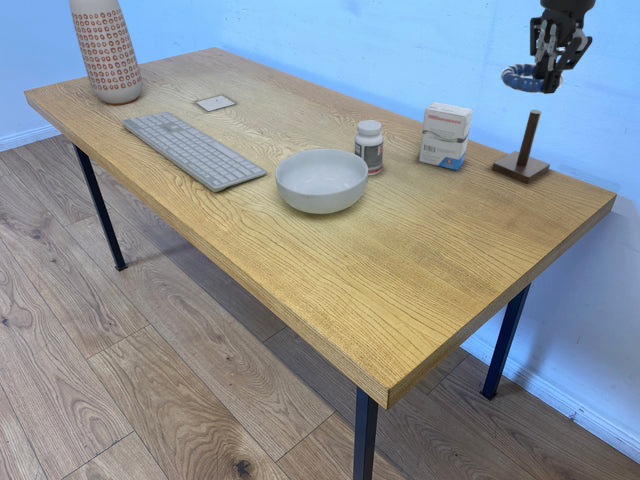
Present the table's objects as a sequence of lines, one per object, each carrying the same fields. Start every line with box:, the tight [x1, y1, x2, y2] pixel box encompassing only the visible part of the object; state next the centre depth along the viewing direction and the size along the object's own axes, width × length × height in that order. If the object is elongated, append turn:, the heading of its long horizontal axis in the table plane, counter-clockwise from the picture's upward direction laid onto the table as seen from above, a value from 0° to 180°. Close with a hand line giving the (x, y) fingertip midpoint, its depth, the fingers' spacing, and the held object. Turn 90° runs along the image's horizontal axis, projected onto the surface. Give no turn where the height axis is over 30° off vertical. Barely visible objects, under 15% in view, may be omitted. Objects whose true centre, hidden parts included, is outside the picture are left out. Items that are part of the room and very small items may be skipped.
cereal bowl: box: [274, 147, 369, 215], centre depth 87 cm, size 17×17×7 cm
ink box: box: [418, 101, 474, 171], centre depth 97 cm, size 8×5×12 cm, turn 59°
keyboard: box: [121, 111, 267, 193], centre depth 106 cm, size 44×12×2 cm, turn 41°
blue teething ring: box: [500, 63, 564, 94], centre depth 81 cm, size 10×10×2 cm
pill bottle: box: [354, 119, 384, 176], centre depth 95 cm, size 6×6×10 cm
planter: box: [68, 0, 143, 106], centre depth 124 cm, size 13×13×28 cm
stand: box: [491, 109, 551, 185], centre depth 93 cm, size 8×8×12 cm
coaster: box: [195, 95, 236, 112], centre depth 128 cm, size 8×8×1 cm
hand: (542, 88), depth 79 cm, fingers closed on blue teething ring, 2 cm apart
